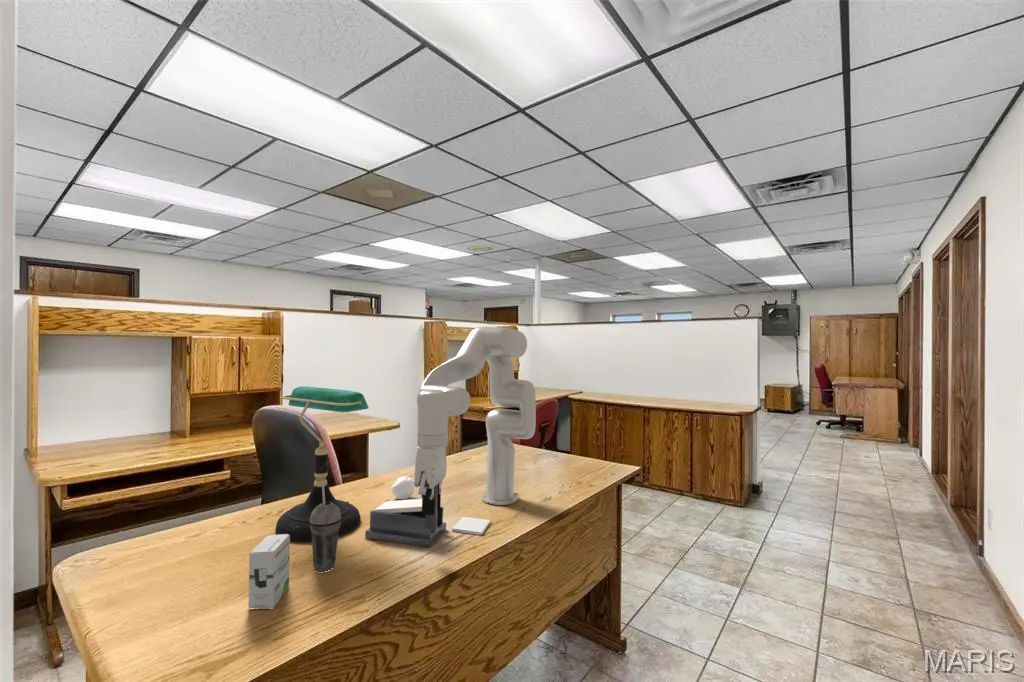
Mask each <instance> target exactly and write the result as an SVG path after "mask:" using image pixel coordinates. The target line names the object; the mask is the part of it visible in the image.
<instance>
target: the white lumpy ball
mask: <svg viewBox="0 0 1024 682" xmlns="http://www.w3.org/2000/svg"><path fill="white" fill-rule="evenodd" d="M415 488H416V487H415V486H414V480H413V479H412V477H407V476H399V477H398V478H397V479H396V480H395V482H394V483H392V485H391V488H390V492H391V493H392V495H393V496H394V497H395V498H396V499H398V500H408V499H409V498H410V497H411V496H412V495H413V494H414V492H415V491H414V490H415Z"/></svg>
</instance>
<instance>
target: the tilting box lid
mask: <svg viewBox="0 0 1024 682" xmlns="http://www.w3.org/2000/svg"><path fill="white" fill-rule="evenodd" d="M373 511H379V512H386V513H399V512H415V511H422V498H415V499H412V498H411V499H398V500H390V501H387V500H385V502H384V503H382V504H381V505H379V506H378V507H376V508H374V509H373Z"/></svg>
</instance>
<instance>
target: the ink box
mask: <svg viewBox="0 0 1024 682" xmlns="http://www.w3.org/2000/svg"><path fill="white" fill-rule="evenodd" d="M290 544H291V541H290V535H288V534H281V535H277V534H269V535H266V537H264V539H263V540H262V541H261V542H259V543H258V545H256V546H255V547H254V548H253V550H251V551H250V552H249V559H248V560H249V562H248V563H249V568H248V569H249V574H248V578H249V579H248V609H249V608H255V609H256V608H257V609H271V608H273V607H274V606H276V605H277V604H278V602H279V601H280V600H279V599H281V598H282V597H283V596H284V594H285V592H286V591H287V590H288V589H289V586H290V547H291V546H290ZM281 596H282V597H281ZM278 600H279V601H278ZM276 603H277V604H276ZM275 604H276V605H275ZM274 608H275V607H274ZM274 608H273V609H274Z"/></svg>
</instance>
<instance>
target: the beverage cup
mask: <svg viewBox="0 0 1024 682" xmlns="http://www.w3.org/2000/svg"><path fill="white" fill-rule="evenodd" d="M322 496H323V503H321V504H319V505H318V506H317V507H316V508H315V509H314V510H313V512H312V514H311V516H310V521H309V524H310V529H311V533H312V542H311V545H312V546H311V548H312V549H311V550H312V561H313V571H314V570H315V571H317V572H325V571H328V570H331V569H332V568H335V563H336V558H337V551H338V544H339V543H338V541H339V536H338V534H339V528H340V524H341V520H342V517H341V512H340V509H339V508H338V506H337V505H335V504H334V503H331V502H325V489H324V486H322ZM332 570H333V569H332ZM332 570H331V571H332ZM315 571H314V572H315ZM317 572H316V573H317ZM325 573H326V572H325Z"/></svg>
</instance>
